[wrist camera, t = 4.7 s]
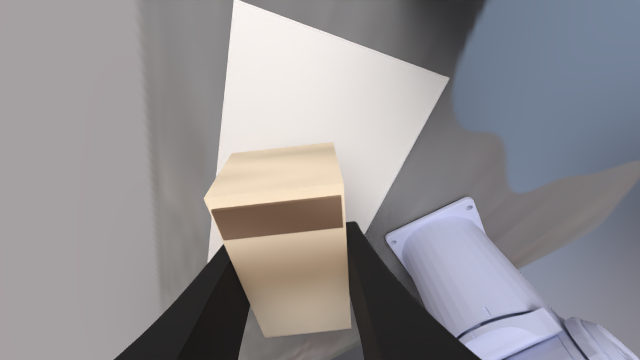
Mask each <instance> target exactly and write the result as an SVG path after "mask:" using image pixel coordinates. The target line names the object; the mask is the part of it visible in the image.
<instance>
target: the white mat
mask: <svg viewBox="0 0 640 360" xmlns="http://www.w3.org/2000/svg"><path fill="white" fill-rule="evenodd" d="M449 79H450V78H448V77H445V76H443V75H440V74H437V73H434V72H432V71H429V70H426V69H424V68H421V67H418V66H415V65H413V64H410V63H407V62H405V61H402V60H399V59H396V58H394V57H391V56H388V55H386V54H383V53H380V52H377V51H375V50H372V49H369V48H367V47H364V46H361V45H358V44H356V43H353V42H350V41H348V40H345V39H342V38H339V37H337V36H334V35H331V34H329V33H326V32H323V31H320V30H318V29H315V28H312V27H310V26H307V25H304V24H301V23H299V22H296V21H293V20H291V19H288V18H285V17H282V16H280V15H277V14H274V13H271V12H269V11H266V10H263V9H261V8H258V7H255V6H252V5H250V4H247V3H244V2H242V1H239V0H234V5H233V15H232V25H231V35H230V45H229V55H228V65H227V75H226V85H225V95H224V104H223V114H222V124H221V134H220V144H219V154H218V164H217V174H216V178H217V176H218V174H219V173H220V171H221V170H222V168H223V166H224V165H225V163H226V161H227V160H228V158H229V157H230V155H231V153H239V152H248V151H257V150H266V149H275V148H284V147H293V146H302V145H311V144H320V143H329V142H333V144H334V148H335V152H336V156H337V159H338V163H339V167H340V171H341V175H342V179H343V182H344V200H345V219H346V222H351V221H355V222H357V223H358V225H359V227H360V229H361V231H362V232H363V234H364V235H365V233H366V231H367V229H368V227H369V225H370V224H371V222H372V220H373V218H374V216H375V214H376V213H377V211H378V209H379V207H380V205H381V203H382V202H383V200H384V198H385V196H386V194H387V192H388V191H389V189H390V187H391V185H392V183H393V181H394V180H395V178H396V176H397V174H398V172H399V170H400V168H401V167H402V165H403V163H404V161H405V159H406V157H407V156H408V154H409V152H410V150H411V148H412V146H413V145H414V143H415V141H416V139H417V137H418V135H419V134H420V132H421V130H422V128H423V126H424V124H425V123H426V121H427V119H428V117H429V115H430V113H431V112H432V110H433V108H434V106H435V104H436V102H437V101H438V99H439V97H440V95H441V93H442V91H443V90H444V88H445V86H446V84H447V82H448V80H449ZM223 244H224V243H223V241H222V239H221V237H220V234H219V232H218V230H217V227H216V225H215V223H214V221H213V218H212V224H211V234H210V243H209V253H208V262H209V261H210V260H211V259H212V257H213V256H214V255H215V254H216V252H217V251H218V250H219V249H220V247H221V246H222V245H223ZM207 264H208V263H207Z"/></svg>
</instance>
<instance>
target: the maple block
mask: <svg viewBox="0 0 640 360" xmlns="http://www.w3.org/2000/svg"><path fill="white" fill-rule="evenodd" d="M204 200H205V202H206V205H207V207H208V209H209V211H210V214H211V216H212V218H213V221H214V223H215V225H216V227H217V230H218V232H219V234H220V237H221V239H222V241H223V243H224V246H225V248H226V250H227V252H228V255H229V257H230V259H231V262H232V264H233V266H234V268H235V271H236V273H237V275H238V278H239V280H240V282H241V284H242V287H243V289H244V291H245V293H246V296H247V298H248V300H249V303H250V305H251V307H252V309H253V312H254V314H255V316H256V318H257V321H258V323H259V325H260V328H261V330H262V332H263V334H264V337H265V338H268V337H277V336H286V335H296V334H305V333H314V332H323V331H333V330H342V329H351V316H350V296H349V277H348V258H347V238H346V219H345V200H344V182H343V179H342V175H341V171H340V167H339V163H338V159H337V156H336V152H335V148H334V144H333V142H329V143H320V144H311V145H302V146H293V147H284V148H275V149H266V150H257V151H248V152H239V153H231V155H230V157H229V158H228V160H227V161H226V163H225V165H224V166H223V168H222V170H221V171H220V173H219V174H218V176H217V178H216V179H215V181H214V183H213V184H212V186H211V187H210V189H209V191H208V192H207V194H206V196H205V197H204Z"/></svg>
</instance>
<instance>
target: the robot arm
mask: <svg viewBox="0 0 640 360" xmlns="http://www.w3.org/2000/svg"><path fill="white" fill-rule="evenodd" d="M346 238H347V258H348V277H349V293H350V297H351V301H352V305H353V309H354V313H355V317H356V321H357V325H358V329H359V334H360V338H361V343H362V348H363V354H364V360H640V359H639V358H638V357H637V356H636V355H635V354H634V353H632V352H631V351H630V350H629V349H628V348H627V347H626V346H625V345H623V344H622V343H621V342H620V341H619V340H617V339H616V338H615V337H614V336H613V335H611V334H610V333H609V332H608V331H607V330H605V329H604V328H603V327H601V326H600V325H598V324H596V323H592V322H589V321H584V320H582V319H580V318H578V317H571V318H569V319H567V320H564V319H563V318H561V317H559V316H558V315H557V314H556V312H555V311H554V310H553V309H552V308H551V307H550V306H549V305H548V304H547V302H545V300H544V299H543V298H542V297H541V296H540V295H539V293H538V292H537V291H536V290H535V289H534V288H533V287H532V286H531V285H530V284H529V282H528V281H527V280H526V279H525V278H524V277H523V276H522V275H521V274H520V272H519V271H518V270H517V269H516V268H515V267H514V266H513V265H512V263H511V262H510V261H509V260H508V259H507V258H506V257H505V256H504V255H503V254H502V252H501V251H500V250H499V249H498V248H497V247H496V246H495V245H494V244H493V242H492V241H491V240H490V239H489V238H488V237H487V236H486V233H485V231H484V228H483V225H482V222H481V220H480V217H479V214H478V211H477V209H476V206H475V203H474V201H473V199H472V198H471V197H465V198H462V199H460V200H458V201H456V202H454V203H452V204H450V205H447V206H445V207H443V208H441V209H439V210H437V211H435V212H433V213H430V214H428V215H426V216H424V217H422V218H420V219H418V220H416V221H414V222H411V223H409V224H407V225H405V226H403V227H401V228H399V229H397V230H395V231H392V232H390V233H388V234H387V235H386V236H385V239H386V242H387V243H388V244H389V246H390V247H391V249H392V250H393V251H394V253H395V254H396V256H397V257H398V259H399V260H400V261H401V263H402V264H403V266H404V267H405V268H406V270H407V271H408V273H409V274H410V276H411V277H412V278H413V280H414V283H415V285H416V287H417V290H418V292H419V294H420V296H421V299H422V301H423V303H424V305H425V308H426V309H425V308H424V307H423V306H422V305H421V304H420V303H419V302H418V301H417V300H416V299H415V298H414V297H413V296H412V295H411V294H410V293H409V292H408V291H407V290H406V289H405V288H404V286H403V285H402V284H401V283H400V282H399V281H398V280H397V278H396V277H395V276H394V275H393V274H392V272H391V271H390V270H389V269H388V268H387V266H386V265H385V264H384V263H383V261H382V260H381V259H380V257H379V256H378V255H377V253H376V252H375V251H374V249H373V248H372V246H371V245H370V243H369V242H368V240H367V239H366V237H365V236H364V234H363V232H362V231H361V229H360V227H359V225H358V223H357V222H355V221H351V222H346ZM249 308H250V303H249V300H248V298H247V296H246V293H245V291H244V289H243V287H242V284H241V282H240V280H239V278H238V275H237V273H236V271H235V268H234V266H233V264H232V262H231V259H230V257H229V255H228V252H227V250H226V248H225V246H224V244H223V245H222V246H221V247H220V249H219V250H218V251H217V252H216V254H215V255H214V256H213V257H212V259H211V260H210V261H209V262H208V264H207V265H206V266H205V267H204V268H203V270H202V271H201V272H200V273H199V275H198V276H197V277H196V278H195V279H194V280H193V282H192V283H191V284H190V285H189V286H188V287H187V288H186V290H185V291H184V292H183V293H182V294H181V295H180V296H179V297H178V299H177V300H176V301H175V302H174V303H173V304H172V305H171V306H170V307H169V308H168V309H167V310H166V311H165V312H164V313H163V314H162V315H161V316H160V317H159V318H158V319H157V320H156V321H155V322H154V323H153V324H152V325H151V326H150V327H149V328H148V329H147V330H146V331H145V332H144V333H143V334H142V335H141V336H140V337H139V338H138V339H136V341H134V342H133V343H132V344H131V345H130V346H129V347H128V348H126V349H125V350H124V351H123V352H122V353H121V354H120V355H119V356H118V357H116V358H115V359H114V360H238V356H239V351H240V346H241V342H242V338H243V333H244V329H245V325H246V321H247V316H248V312H249Z"/></svg>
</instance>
